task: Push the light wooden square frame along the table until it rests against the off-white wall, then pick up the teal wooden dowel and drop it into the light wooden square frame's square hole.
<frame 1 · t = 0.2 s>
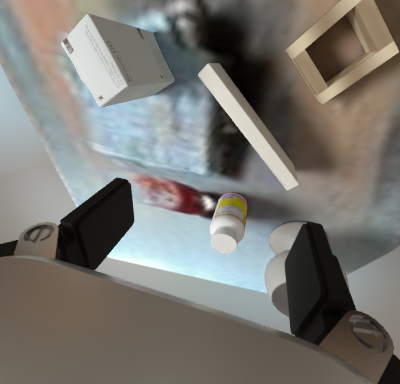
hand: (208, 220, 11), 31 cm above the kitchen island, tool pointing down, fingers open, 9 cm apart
supplement bottle: (233, 203, 47), on the kitchen island
skincare box: (151, 65, 37), on the kitchen island
chalice: (296, 240, 48), on the kitchen island
light wooden square frame: (336, 50, 28), point 2 cm above the kitchen island, slide at 0.0 cm
wall: (254, 121, 37), on the kitchen island
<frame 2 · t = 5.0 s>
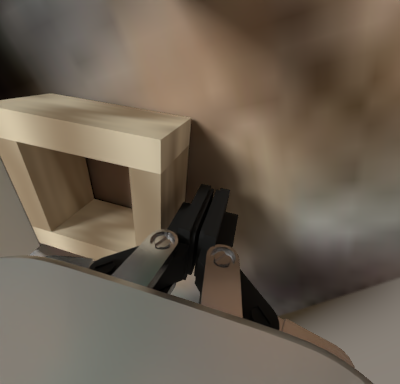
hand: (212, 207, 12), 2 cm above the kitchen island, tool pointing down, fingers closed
light wooden square frame: (106, 187, 13), point 2 cm above the kitchen island, slide at 1.1 cm, touching gripper
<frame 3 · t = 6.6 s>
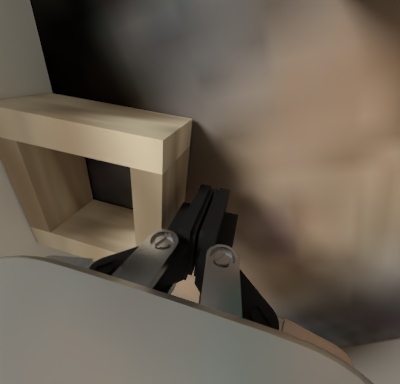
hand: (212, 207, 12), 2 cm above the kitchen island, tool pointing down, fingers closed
light wooden square frame: (106, 188, 13), point 2 cm above the kitchen island, slide at 8.2 cm, touching gripper
wall: (60, 168, 16), on the kitchen island
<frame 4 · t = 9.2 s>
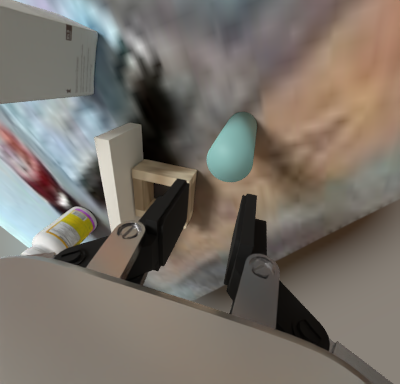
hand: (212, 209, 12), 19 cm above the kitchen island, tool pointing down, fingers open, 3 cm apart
supplement bottle: (85, 217, 47), on the kitchen island
skincare box: (78, 55, 29), on the kitchen island
dowel: (241, 127, 28), on the kitchen island
light wooden square frame: (165, 193, 34), point 2 cm above the kitchen island, slide at 8.0 cm
wall: (139, 185, 38), on the kitchen island
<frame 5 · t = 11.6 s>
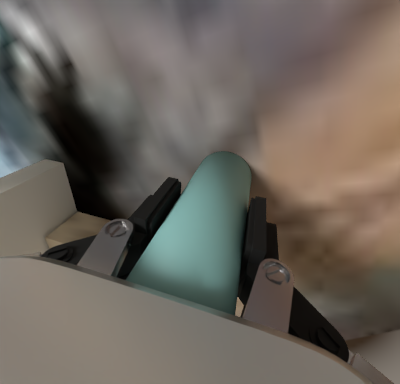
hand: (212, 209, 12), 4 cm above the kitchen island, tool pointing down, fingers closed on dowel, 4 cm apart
dowel: (224, 176, 16), on the kitchen island, touching gripper
light wooden square frame: (110, 266, 22), point 2 cm above the kitchen island, slide at 8.0 cm
wall: (79, 243, 25), on the kitchen island
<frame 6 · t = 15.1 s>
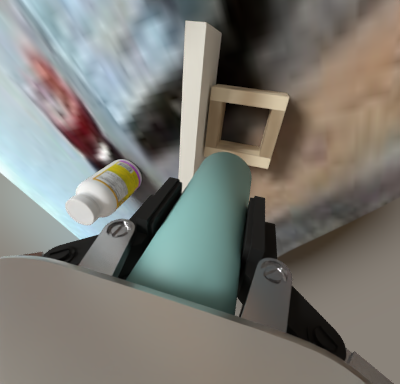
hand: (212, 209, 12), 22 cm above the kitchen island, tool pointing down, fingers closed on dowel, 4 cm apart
supplement bottle: (128, 173, 41), on the kitchen island
dowel: (224, 177, 16), point 17 cm above the kitchen island, touching gripper
light wooden square frame: (242, 126, 28), point 2 cm above the kitchen island, slide at 8.0 cm
wall: (204, 123, 32), on the kitchen island
when the fingers open (6 cm above the kitchen island, at t = 18.1 s): dowel drops 2 cm, resting in light wooden square frame.
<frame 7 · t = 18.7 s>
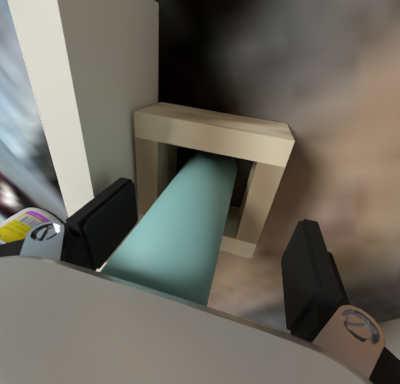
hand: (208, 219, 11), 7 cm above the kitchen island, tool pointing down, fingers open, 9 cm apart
supplement bottle: (49, 225, 27), on the kitchen island
dowel: (212, 168, 17), resting in light wooden square frame
light wooden square frame: (206, 180, 15), point 2 cm above the kitchen island, slide at 8.0 cm
wall: (147, 165, 19), on the kitchen island
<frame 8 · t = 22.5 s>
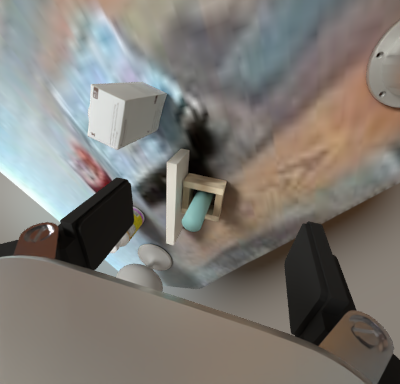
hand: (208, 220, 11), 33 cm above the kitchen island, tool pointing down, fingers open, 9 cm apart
supplement bottle: (135, 214, 61), on the kitchen island
skincare box: (150, 105, 43), on the kitchen island
chalice: (155, 256, 69), on the kitchen island
dowel: (205, 192, 51), resting in light wooden square frame
light wooden square frame: (203, 197, 49), point 2 cm above the kitchen island, slide at 8.0 cm
wall: (182, 190, 52), on the kitchen island
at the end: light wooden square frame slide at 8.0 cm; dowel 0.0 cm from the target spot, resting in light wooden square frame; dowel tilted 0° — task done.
